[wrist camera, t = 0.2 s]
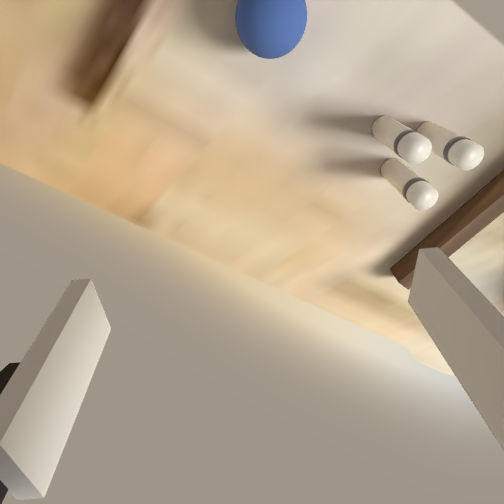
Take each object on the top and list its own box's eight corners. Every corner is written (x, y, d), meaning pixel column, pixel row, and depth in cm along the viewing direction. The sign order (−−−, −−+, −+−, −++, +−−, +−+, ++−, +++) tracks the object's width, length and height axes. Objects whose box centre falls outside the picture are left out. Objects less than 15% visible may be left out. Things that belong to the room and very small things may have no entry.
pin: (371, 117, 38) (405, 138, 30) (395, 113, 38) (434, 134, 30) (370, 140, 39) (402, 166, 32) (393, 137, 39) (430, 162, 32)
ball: (230, -17, 31) (230, -26, 26) (298, -28, 31) (311, -39, 26) (240, 60, 34) (241, 66, 29) (302, 51, 34) (314, 55, 29)
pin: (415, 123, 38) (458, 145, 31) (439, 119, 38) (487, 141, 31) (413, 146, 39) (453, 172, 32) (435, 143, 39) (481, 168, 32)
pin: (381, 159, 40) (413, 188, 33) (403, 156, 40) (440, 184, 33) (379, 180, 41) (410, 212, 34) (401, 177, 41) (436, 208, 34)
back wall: (390, 269, 48) (398, 282, 46) (557, 123, 39) (580, 130, 36) (399, 276, 49) (408, 289, 47) (565, 134, 40) (588, 142, 37)
